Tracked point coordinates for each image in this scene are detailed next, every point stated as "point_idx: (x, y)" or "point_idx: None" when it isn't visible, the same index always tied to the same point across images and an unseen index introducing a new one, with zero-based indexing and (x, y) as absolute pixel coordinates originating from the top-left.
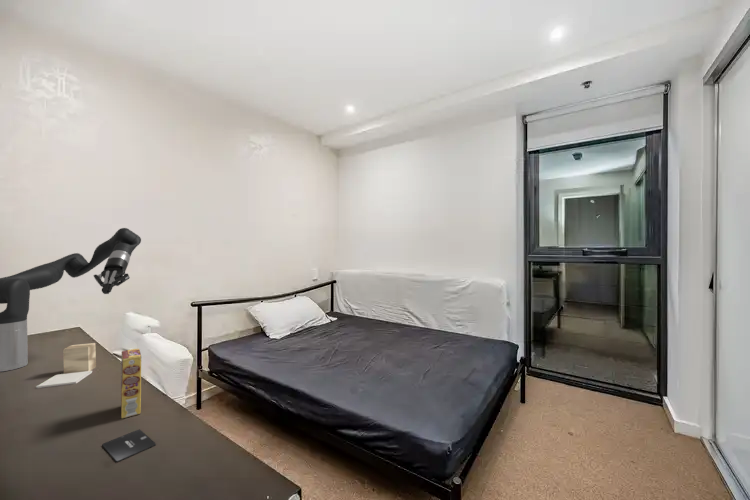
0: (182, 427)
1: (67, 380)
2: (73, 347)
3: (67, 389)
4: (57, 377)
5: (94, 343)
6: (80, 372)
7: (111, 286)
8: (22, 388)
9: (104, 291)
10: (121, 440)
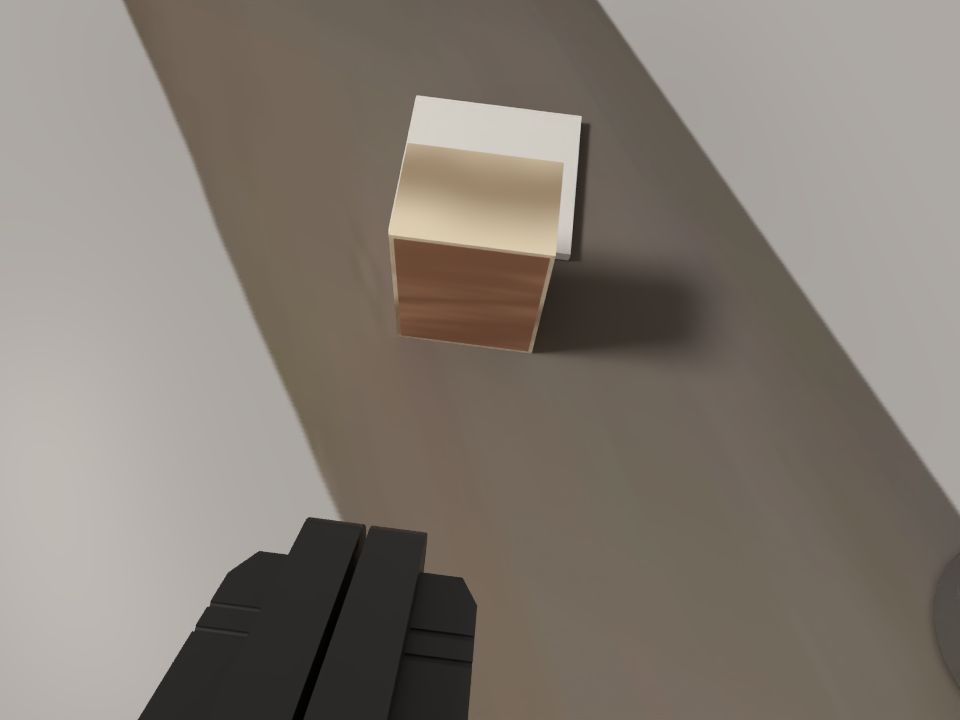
0: None
1: (466, 131)
2: (509, 174)
3: (428, 50)
4: None
5: (391, 221)
6: None
7: (156, 716)
8: (648, 153)
9: (376, 534)
10: None
